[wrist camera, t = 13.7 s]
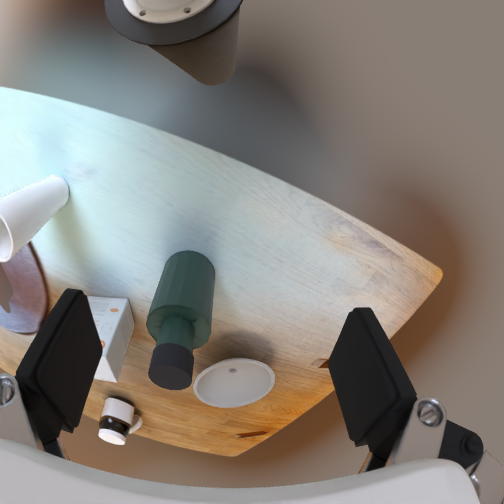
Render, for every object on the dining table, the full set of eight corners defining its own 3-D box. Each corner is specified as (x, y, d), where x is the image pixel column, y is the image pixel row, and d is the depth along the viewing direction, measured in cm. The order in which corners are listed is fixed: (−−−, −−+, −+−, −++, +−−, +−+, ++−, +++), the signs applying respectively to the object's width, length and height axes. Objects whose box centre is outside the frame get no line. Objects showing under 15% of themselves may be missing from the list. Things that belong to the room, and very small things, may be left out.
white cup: (74, 215, 35) (17, 269, 22) (40, 208, 34) (-18, 256, 21) (75, 171, 32) (9, 212, 19) (41, 166, 31) (-27, 203, 18)
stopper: (152, 322, 30) (139, 370, 24) (183, 311, 30) (175, 361, 24) (173, 346, 32) (165, 393, 26) (203, 337, 32) (200, 385, 26)
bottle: (155, 262, 40) (125, 341, 26) (199, 242, 39) (183, 322, 25) (181, 298, 44) (165, 381, 30) (223, 282, 43) (221, 366, 29)
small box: (97, 321, 45) (73, 375, 34) (88, 294, 42) (58, 348, 31) (136, 325, 46) (118, 383, 35) (129, 297, 43) (105, 357, 32)
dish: (239, 395, 58) (240, 413, 54) (181, 376, 54) (179, 395, 49) (288, 353, 52) (293, 373, 47) (223, 327, 47) (223, 348, 43)
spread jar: (111, 389, 56) (101, 428, 46) (152, 406, 60) (146, 445, 50) (101, 404, 61) (91, 439, 51) (137, 420, 65) (131, 454, 54)
